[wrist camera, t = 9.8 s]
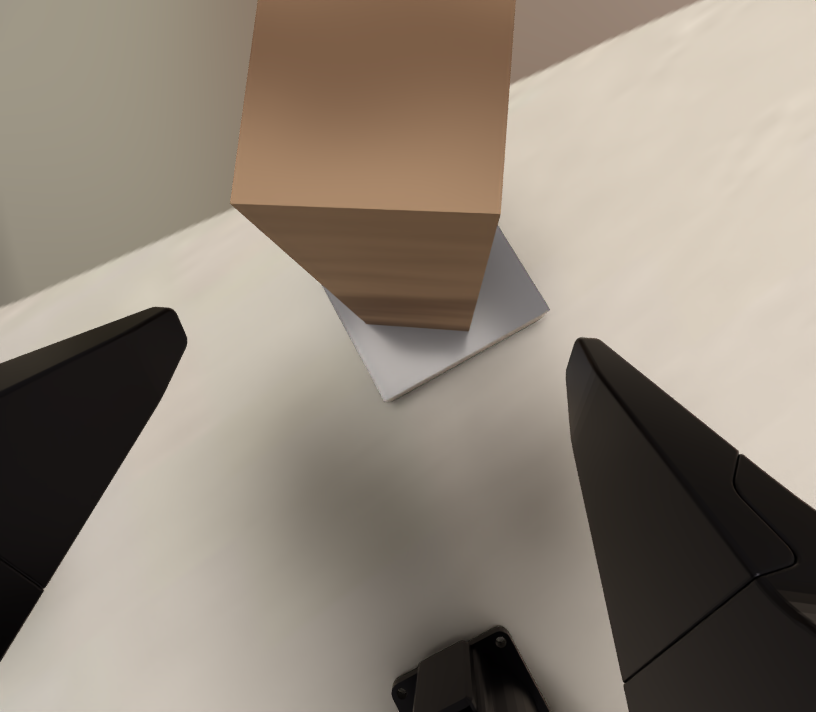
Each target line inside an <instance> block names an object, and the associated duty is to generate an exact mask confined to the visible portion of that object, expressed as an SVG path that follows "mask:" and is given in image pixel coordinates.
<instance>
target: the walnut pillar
mask: <svg viewBox="0 0 816 712" xmlns="http://www.w3.org/2000/svg"><path fill="white" fill-rule="evenodd" d="M515 2H516V0H258V3H257V11H256V17H255V25H254V32H253V39H252V47H251V54H250V62H249V69H248V77H247V83H246V91H245V98H244V105H243V113H242V120H241V127H240V134H239V143H238V149H237V156H236V164H235V171H234V179H233V186H232V193H231V201H230V204H231V205H232V206H233V207H235V208H236V209H237V210H238V211H239V212H240V213H241V214H242V215H244V216H245V217H246V218H247V219H248V220H249V221H250V222H252V223H253V224H254V225H255V226H256V227H257V228H258V229H259V230H261V231H262V232H263V233H264V234H265V235H266V236H267V237H269V238H270V239H271V240H272V241H273V242H274V243H275V244H276V245H278V246H279V247H280V248H281V249H282V250H283V251H284V252H286V253H287V254H288V255H289V256H290V257H291V258H292V259H293V260H295V261H296V262H297V263H298V264H299V265H300V266H301V267H303V268H304V269H305V270H306V271H307V272H308V273H309V274H310V275H312V276H313V277H314V278H315V279H316V280H317V281H318V282H319V283H321V284H322V285H323V286H324V287H325V288H326V289H327V290H329V291H330V292H331V293H332V294H333V295H334V296H335V297H336V298H338V299H339V300H340V301H341V302H342V303H343V304H344V305H346V306H347V307H348V308H349V309H350V310H351V311H352V312H353V313H355V314H356V315H357V316H358V317H359V318H360V319H361V320H363V321H364V322H365V323H366V324H372V325H386V326H400V327H414V328H428V329H442V330H457V331H469V329H470V325H471V322H472V318H473V314H474V311H475V307H476V303H477V299H478V296H479V292H480V288H481V285H482V281H483V277H484V273H485V270H486V266H487V262H488V259H489V255H490V251H491V247H492V244H493V240H494V236H495V233H496V229H497V225H498V221H499V218H500V214H501V200H502V186H503V172H504V158H505V143H506V129H507V115H508V101H509V87H510V71H511V59H512V43H513V30H514V16H515Z"/></svg>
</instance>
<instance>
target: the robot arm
mask: <svg viewBox="0 0 816 712" xmlns="http://www.w3.org/2000/svg"><path fill="white" fill-rule="evenodd" d="M186 346H187V336H186V334H185V331H184V329H183V327H182V324H181V322H180V320H179V318H178V315H177V313H176V312H175V311H174V310H173V309H171V308H166V307H152V308H149V309H146V310H143V311H141V312H138V313H135V314H133V315H130V316H127V317H124V318H122V319H119V320H116V321H114V322H111V323H108V324H106V325H103V326H100V327H97V328H95V329H92V330H89V331H87V332H84V333H81V334H79V335H76V336H73V337H70V338H68V339H65V340H62V341H60V342H57V343H54V344H51V345H49V346H46V347H43V348H41V349H38V350H35V351H33V352H30V353H27V354H24V355H22V356H19V357H16V358H14V359H11V360H8V361H6V362H3V363H0V662H1V660H2V658H3V657H4V655H5V654H6V652H7V650H8V649H9V647H10V645H11V644H12V642H13V641H14V639H15V637H16V636H17V634H18V632H19V631H20V629H21V628H22V626H23V624H24V623H25V621H26V619H27V618H28V616H29V615H30V613H31V611H32V610H33V608H34V606H35V605H36V603H37V602H38V600H39V598H40V597H41V595H42V593H43V592H44V588H45V587H46V586H47V585H48V583H49V581H50V580H51V578H52V576H53V575H54V573H55V572H56V570H57V568H58V567H59V565H60V563H61V562H62V560H63V559H64V557H65V555H66V554H67V552H68V550H69V549H70V547H71V546H72V544H73V542H74V541H75V539H76V537H77V536H78V534H79V533H80V531H81V529H82V528H83V526H84V524H85V523H86V521H87V520H88V518H89V516H90V515H91V513H92V511H93V510H94V508H95V506H96V505H97V503H98V502H99V500H100V498H101V497H102V495H103V493H104V492H105V490H106V489H107V487H108V485H109V484H110V482H111V480H112V479H113V477H114V476H115V474H116V472H117V471H118V469H119V467H120V466H121V464H122V463H123V461H124V459H125V458H126V456H127V454H128V453H129V451H130V450H131V448H132V446H133V445H134V443H135V441H136V440H137V438H138V437H139V435H140V433H141V432H142V430H143V428H144V427H145V425H146V424H147V422H148V420H149V419H150V417H151V415H152V414H153V412H154V411H155V409H156V407H157V406H158V404H159V402H160V400H161V399H162V397H163V395H164V393H165V391H166V389H167V387H168V384H169V382H170V380H171V378H172V376H173V374H174V372H175V370H176V368H177V366H178V363H179V361H180V359H181V357H182V355H183V353H184V351H185V349H186ZM566 387H567V399H568V412H569V424H570V435H571V442H572V448H573V453H574V458H575V462H576V467H577V471H578V476H579V481H580V485H581V490H582V495H583V499H584V504H585V509H586V513H587V518H588V522H589V527H590V532H591V536H592V541H593V546H594V550H595V555H596V560H597V564H598V569H599V573H600V578H601V583H602V587H603V592H604V597H605V601H606V606H607V611H608V615H609V620H610V624H611V629H612V634H613V638H614V643H615V648H616V652H617V657H618V662H619V666H620V671H621V675H622V680H623V682H624V683H625V684H624V691H625V695H626V700H627V705H628V709H629V712H816V510H815V509H813V508H812V507H811V506H809V505H808V504H807V503H805V502H804V501H802V500H801V499H800V498H798V497H797V496H796V495H794V494H793V493H792V492H790V491H789V490H788V489H786V488H785V487H784V486H783V485H781V484H780V483H779V482H777V481H776V480H775V479H774V478H772V477H771V476H770V475H768V474H767V473H766V472H765V471H763V470H762V469H761V468H759V467H758V466H757V465H756V464H754V463H753V462H752V461H751V460H750V459H748V458H747V457H746V456H745V455H743V454H739V451H738V450H737V449H736V448H734V447H733V446H732V445H731V444H729V443H728V442H727V441H726V440H724V439H723V438H722V437H721V436H719V435H718V434H717V433H716V432H714V431H713V430H712V429H711V428H709V427H708V426H707V425H706V424H704V423H703V422H702V421H701V420H699V419H698V418H697V417H696V416H694V415H693V414H692V413H691V412H689V411H688V410H687V409H686V408H684V407H683V406H682V405H681V404H679V403H678V402H677V401H676V400H674V399H673V398H672V397H671V396H669V395H668V394H667V393H666V392H664V391H663V390H662V389H661V388H660V387H658V386H657V385H656V384H655V383H653V382H652V381H651V380H650V379H648V378H647V377H646V376H645V375H643V374H642V373H641V372H640V371H638V370H637V369H636V368H635V367H633V366H632V365H631V364H630V363H628V362H627V361H626V360H625V359H623V358H622V357H621V356H620V355H618V354H617V353H616V352H615V351H613V350H612V349H611V348H610V347H608V346H607V345H606V344H605V343H603V342H602V341H601V340H599V339H597V338H583V337H580V338H578V339H577V340H576V341H575V343H574V346H573V349H572V353H571V356H570V359H569V362H568V365H567V369H566ZM498 637H504V638H505V641H504V642H502V643H499V642H497V641H496V639H497V638H498ZM399 688H403V689H405V690H406V693H403V694H402V693H400V692H399V691H398V689H399ZM392 697H393V700H394V702H395V704H396V706H397V708H398V710H399V712H551V711H550V709H549V707H548V705H547V703H546V701H545V700H544V698H543V696H542V694H541V692H540V690H539V688H538V686H537V684H536V683H535V681H534V679H533V677H532V675H531V673H530V671H529V669H528V668H527V666H526V664H525V662H524V660H523V658H522V656H521V654H520V653H519V651H518V649H517V647H516V645H515V643H514V641H513V639H512V638H511V636H510V634H509V632H508V631H507V630H506V629H505V628H503V627H495V628H493V629H491V630H489V631H487V632H485V633H483V634H482V635H480V636H478V637H476V638H474V639H472V640H470V641H468V642H467V641H460V642H458V643H456V644H454V645H452V646H450V647H448V648H446V649H445V650H443V651H441V652H439V653H437V654H435V655H433V656H431V657H429V658H427V659H425V660H423V661H422V662H420V664H419V667H418V668H416V669H415V670H413V671H411V672H409V673H407V674H405V675H403V676H401V677H399V678H398V679H396V680H395V682H394V684H393V687H392Z"/></svg>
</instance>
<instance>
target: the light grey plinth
mask: <svg viewBox="0 0 816 712" xmlns="http://www.w3.org/2000/svg"><path fill="white" fill-rule="evenodd" d="M322 286H323V285H322ZM323 288H324V290H325V292H326V294H327V295H328V297H329V299H330V301H331V303H332V305H333V307H334V309H335V311H336V312H337V314H338V316H339V318H340V320H341V322H342V324H343V326H344V327H345V329H346V331H347V333H348V335H349V337H350V339H351V341H352V342H353V344H354V346H355V348H356V350H357V352H358V354H359V356H360V358H361V359H362V361H363V363H364V365H365V367H366V369H367V371H368V373H369V374H370V376H371V378H372V380H373V382H374V384H375V386H376V388H377V389H378V391H379V393H380V395H381V397H382V399H383V401H384V402H392V401H394V400H395V399H397V398H399V397H401V396H403V395H404V394H406V393H408V392H410V391H412V390H413V389H415V388H417V387H419V386H421V385H422V384H424V383H426V382H428V381H430V380H431V379H433V378H435V377H437V376H439V375H440V374H442V373H444V372H446V371H448V370H449V369H451V368H453V367H455V366H457V365H458V364H460V363H462V362H464V361H466V360H467V359H469V358H471V357H473V356H475V355H477V354H478V353H480V352H482V351H484V350H486V349H487V348H489V347H491V346H493V345H495V344H496V343H498V342H500V341H502V340H504V339H505V338H507V337H509V336H511V335H513V334H514V333H516V332H518V331H520V330H522V329H523V328H525V327H527V326H529V325H531V324H532V323H534V322H536V321H538V320H539V319H540V318H542V317H543V316H544V315H545V314H546V313H547V312H548V311H549V310H550V309H549V307H548V305H547V304H546V302H545V301H544V299H543V297H542V296H541V294H540V292H539V291H538V289H537V288H536V286H535V284H534V283H533V281H532V280H531V278H530V276H529V275H528V273H527V271H526V270H525V268H524V267H523V265H522V263H521V262H520V260H519V259H518V257H517V255H516V254H515V252H514V250H513V249H512V247H511V246H510V244H509V242H508V241H507V239H506V238H505V236H504V234H503V233H502V231H501V230H500V228H499V226H498V225H497V229H496V233H495V236H494V240H493V244H492V247H491V251H490V255H489V259H488V262H487V266H486V270H485V273H484V277H483V281H482V285H481V288H480V292H479V296H478V299H477V303H476V307H475V311H474V314H473V318H472V322H471V325H470V329H469V331H457V330H442V329H428V328H414V327H400V326H386V325H372V324H366V323H365V322H364V321H363V320H361V319H360V318H359V317H358V316H357V315H356V314H355V313H353V312H352V311H351V310H350V309H349V308H348V307H347V306H346V305H344V304H343V303H342V302H341V301H340V300H339V299H338V298H336V297H335V296H334V295H333V294H332V293H331V292H330V291H329V290H327V289H326V288H325V287H324V286H323Z"/></svg>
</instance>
